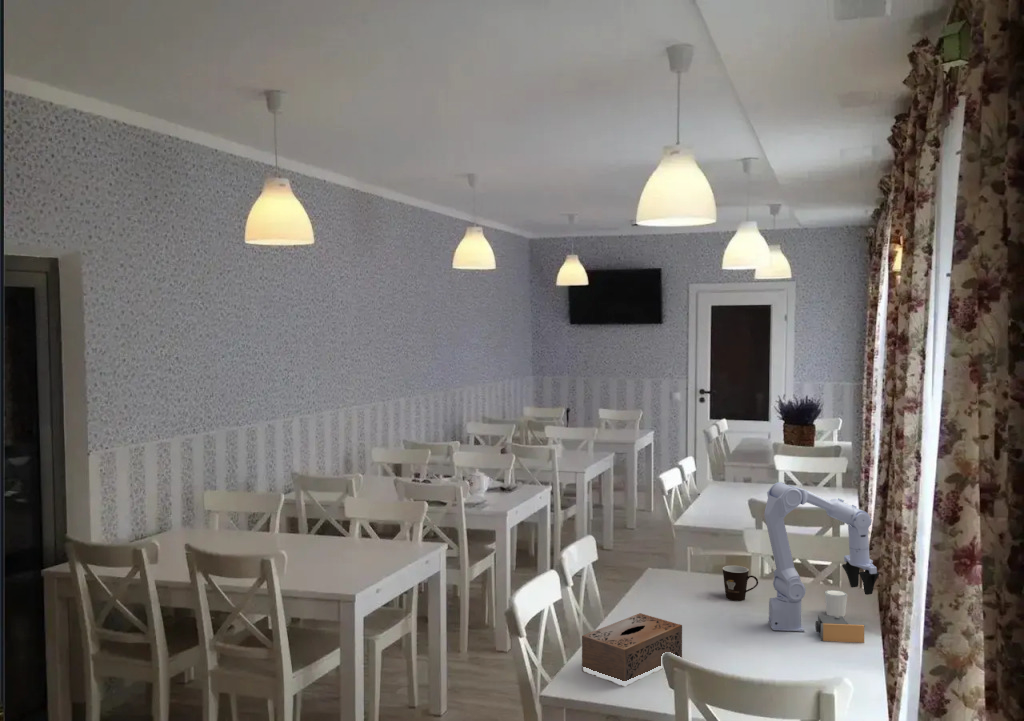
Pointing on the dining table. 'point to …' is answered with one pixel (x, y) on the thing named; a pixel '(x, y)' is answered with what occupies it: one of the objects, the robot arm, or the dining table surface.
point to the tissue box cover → (630, 646)
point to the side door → (842, 632)
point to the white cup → (835, 602)
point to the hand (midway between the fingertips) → (861, 590)
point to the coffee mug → (736, 582)
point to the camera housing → (828, 621)
